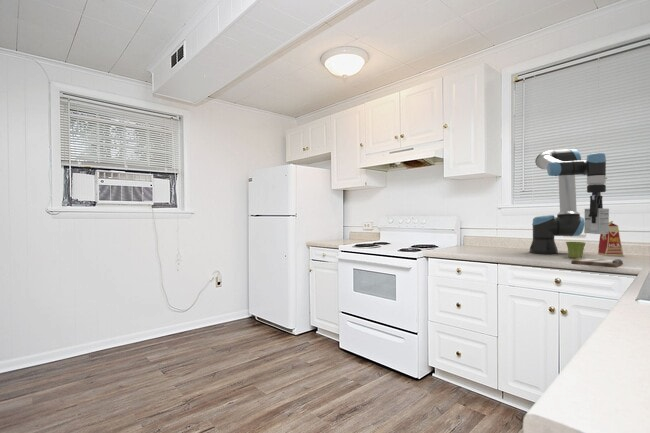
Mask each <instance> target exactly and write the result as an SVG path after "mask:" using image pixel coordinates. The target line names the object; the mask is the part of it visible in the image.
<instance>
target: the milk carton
mask: <svg viewBox="0 0 650 433" xmlns="http://www.w3.org/2000/svg"><path fill="white" fill-rule="evenodd" d="M597 252H598V253H597V255H602V256H605V257H606V256H609V257H610V256H611V257H612V256H614V257H615V256H616V257H617V256H619V257H624V251H623V247H622V241H621V235H620V230H619V225H618V224H615V223H614V220H612V221H609V234H599V240H598V251H597Z"/></svg>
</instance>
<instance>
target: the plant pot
mask: <svg viewBox="0 0 650 433" xmlns="http://www.w3.org/2000/svg"><path fill="white" fill-rule="evenodd" d="M565 243H566V247H567V253H568V257H569V258H571V259H573V258H574V259H577V258H583V255H584V250H585V246H586V244H587V242H584V241H565Z"/></svg>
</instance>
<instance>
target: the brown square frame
mask: <svg viewBox="0 0 650 433" xmlns="http://www.w3.org/2000/svg"><path fill="white" fill-rule="evenodd" d="M570 263H571V264H572V265H581V266H582V265H584V266H585V265H586V266H593V267H594V266H595V267H596V266H597V267H608V268H618V267H620V266H621V265H623V264H624V263H623V260H622V259H620V258H615V259H603V258H590V257H589V258H588V257H582V258H574V259H572V260H571V262H570Z"/></svg>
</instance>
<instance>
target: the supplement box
mask: <svg viewBox="0 0 650 433" xmlns="http://www.w3.org/2000/svg"><path fill="white" fill-rule="evenodd" d="M589 214H590V208H584V217H583V218H584V229H583V232H584V234H592V235H600V234H609V222H610V219H609V218H610V215H609V214H610V209H609V208H606V207H605V208H598V209H597V217H598V230H591V217H589Z"/></svg>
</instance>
